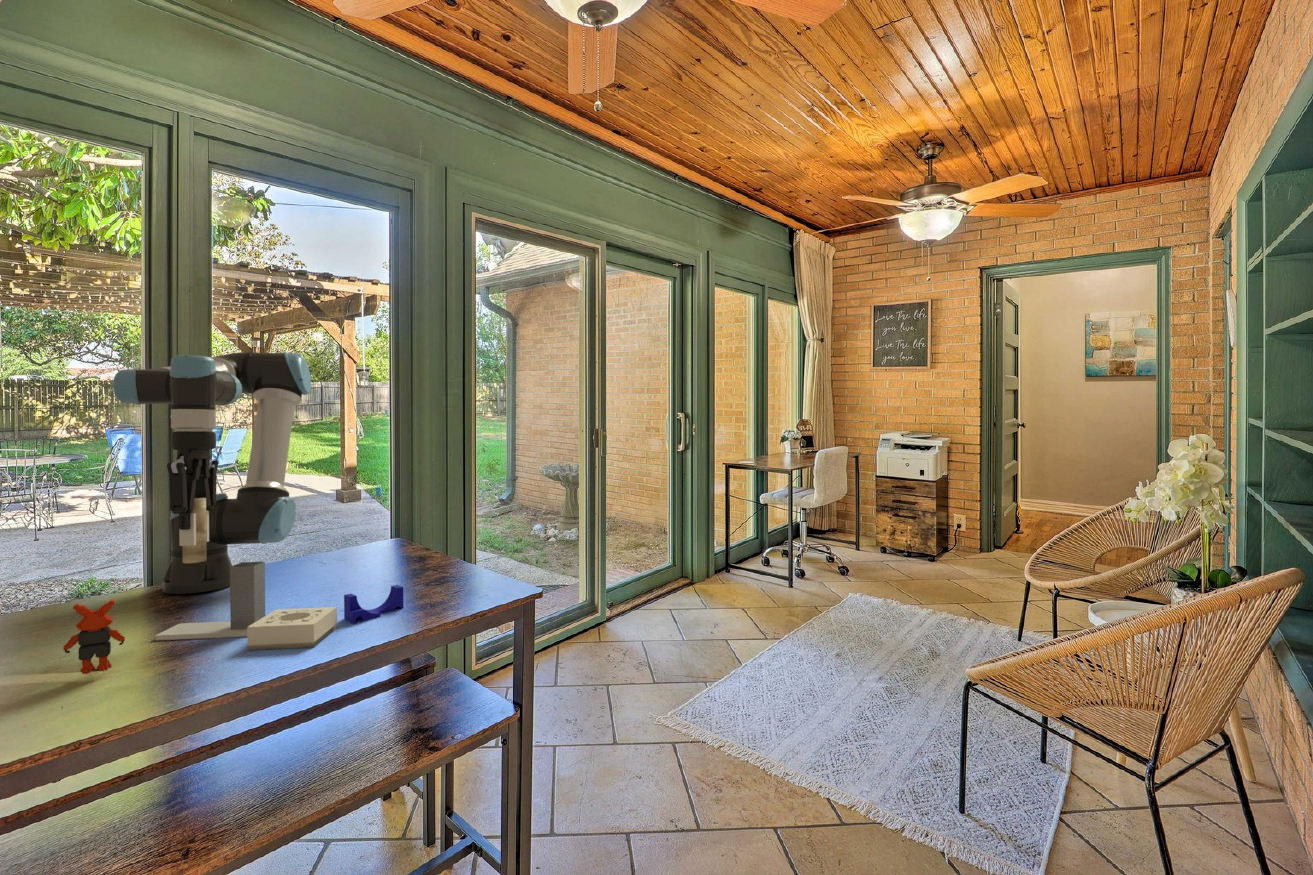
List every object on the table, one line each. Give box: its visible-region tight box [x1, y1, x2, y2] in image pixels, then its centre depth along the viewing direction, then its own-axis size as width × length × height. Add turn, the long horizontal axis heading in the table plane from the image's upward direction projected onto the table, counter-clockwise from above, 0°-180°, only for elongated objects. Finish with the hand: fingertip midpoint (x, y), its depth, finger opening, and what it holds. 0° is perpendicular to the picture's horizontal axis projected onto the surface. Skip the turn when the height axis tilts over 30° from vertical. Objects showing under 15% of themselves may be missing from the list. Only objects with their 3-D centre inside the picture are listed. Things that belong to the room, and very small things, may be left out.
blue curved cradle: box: [343, 584, 404, 625], centre depth 142 cm, size 12×4×6 cm, turn 138°
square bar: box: [229, 561, 266, 630], centre depth 132 cm, size 5×5×13 cm
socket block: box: [246, 606, 338, 651], centre depth 127 cm, size 12×12×4 cm
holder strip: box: [154, 620, 247, 641], centre depth 132 cm, size 8×20×1 cm, turn 98°
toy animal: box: [62, 599, 126, 675], centre depth 111 cm, size 8×5×12 cm
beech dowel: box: [182, 498, 207, 563], centre depth 130 cm, size 4×4×13 cm
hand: (194, 543), depth 130 cm, fingers closed on beech dowel, 4 cm apart
